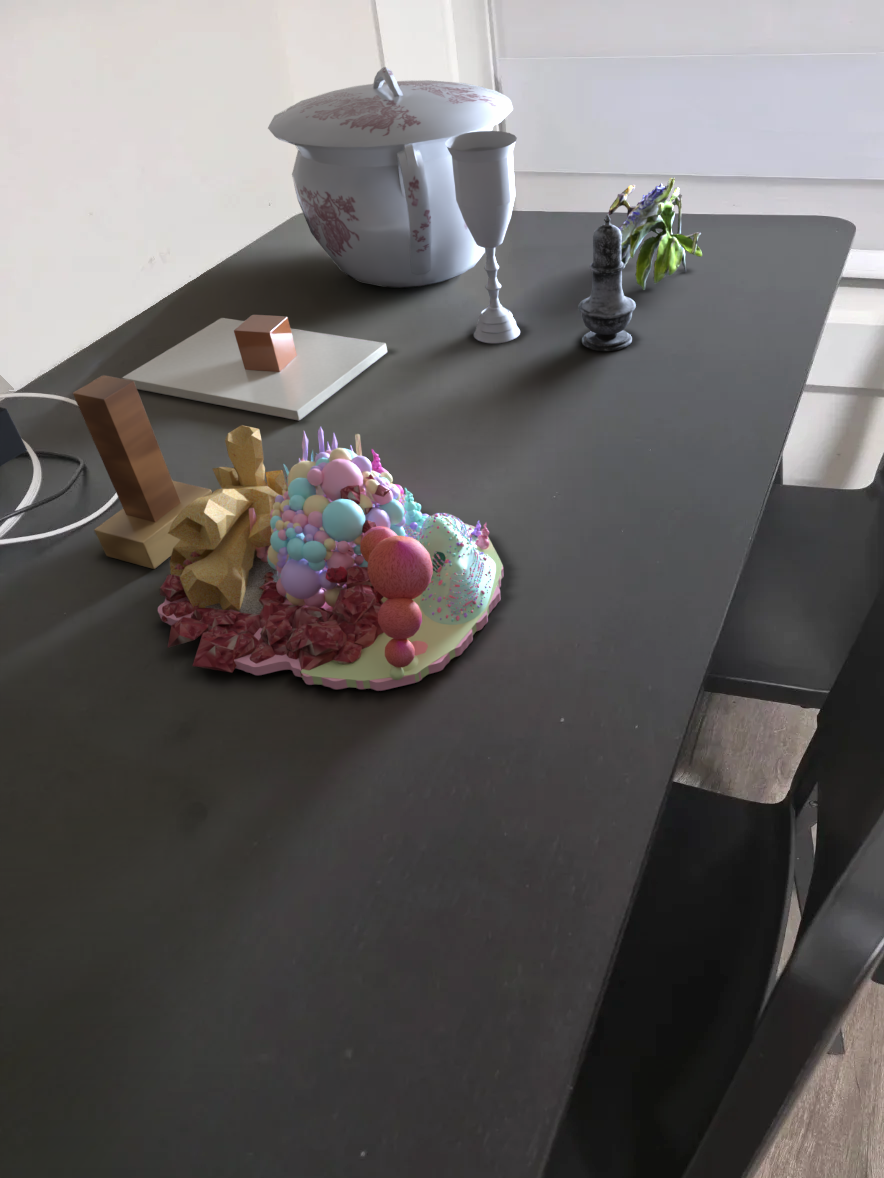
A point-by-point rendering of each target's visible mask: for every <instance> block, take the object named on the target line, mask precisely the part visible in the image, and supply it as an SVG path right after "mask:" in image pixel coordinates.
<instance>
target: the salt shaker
mask: <svg viewBox="0 0 884 1178" xmlns="http://www.w3.org/2000/svg"><path fill="white" fill-rule="evenodd" d="M611 220H612V219H611V218H610V215H609V214H606V216H605V217H604V219H603V221H604V223H603V224H602V225H600V226H598V227H597V228H596V229H595V230H594V232H593V234H592V262H591V263H590V264H589V267H588V268H589V270H590V271H591V272H592V273H591V275H592V276H591V277H592V278H591V279H592V283H591V284H592V287H591V293H590V296H588V297H587V298H584V299H583V300H581V301H580V303H579V304H578V306H577V307H578V311H579V312H580V313H581V319H582V321H583V323H584V325H585V327H586V328H587V329H588V330H589V331H588V332H586V333H585V334H584V335H583V336H582V338H581V343H582V345H583V346H584V347H586V348H588V349H589V350H593V351H597V352H599V351H600V352H611V351H618V350H622V349H624V348H626V347H628V346H629V345H631V343H632V342H633V337H632V336H631V335H632V334H630V333H629V332H627V331H626V330H625V329H626V328H627V327H628V326H629V325H630V323H631V320H632V317H633V312H634V311H635V309H636V307H637V306H636V305H637V304H636V302H635V301H634V300H633V299H632V298H631V297H628V296H625V294H624V291H623V285H622V284H623V270H624V269H625V268H626V265H625V264H624V263H623V262H622V261H621V245H622V235H621V231H620V230H619V228H618V226H616V225H614V224H612V223H611Z"/></svg>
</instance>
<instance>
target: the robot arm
mask: <svg viewBox="0 0 884 1178" xmlns="http://www.w3.org/2000/svg"><path fill="white" fill-rule="evenodd" d="M26 451H28V448H27V447H26V445H25V441H24V440H23V438H22V437H21V434H20V433H19V429H18V428H17V426H16V424H15V423H14V420H13V418H12V417H11V414H10V412H9V410H8V409H7V408H6V407H1V406H0V467H2V466H3V465H5V464H7V463H8V462H10V461H12V460H14V459H15V458H18V456H20V455H22V454H23V453H25V452H26Z"/></svg>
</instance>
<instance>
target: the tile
mask: <svg viewBox="0 0 884 1178" xmlns="http://www.w3.org/2000/svg"><path fill="white" fill-rule="evenodd" d="M244 321H245V320H239V319H232V318H227V317H220V318H218V319H217V320H215V321H214V322H213V323H210V324H209V325H207V326H206V327H204V328H202V329H200V330H199V331H197V332H196V333H194V334H192V335H190V336H189V337H187V338H185V339H184V340H182V341H181V342H179V343H177V344H176V345H174V346H172V347H170V348H169V349H167V350H166V351H164V352H163V353H161V354H158V355H157V356H155V357H154V358H152V359H151V360H148V361H147V362H146V363H144V364H142V365H140V366H139V367H137V368H135V369H133V370H132V371H131V372H129V373H127V374H125V375H124V376H122V377H121V379H125V380H131V381H134V383H135V385H136V388H137V390H140V391H146V392H151V393H156V394H160V395H161V394H162V395H166V396H171V397H177V398H181V399H187V400H192V401H197V402H202V403H206V404H213V405H218V406H223V407H227V408H232V409H238V410H243V411H248V412H253V413H258V414H263V415H269V416H274V417H277V418H278V417H279V418H285V419H289V420H295V421H301V420H303V418H305V417H306V416H308V415H309V414H310V413H311V412H312V411H314V410H315V409H316V408H318V407H319V406H321V404H323V403H324V402H326V401H327V400H328V399H329V398H331V397H332V396H333V395H334V394H336V393H337V392H338V391H340V390H341V389H342V388H344V387H345V386H346V385H347V384H348V383H350V382H351V381H353V379H355V378H356V377H358V376H359V375H360V374H362V372H365V370H366V369H368V368H370V366H372V365H373V364H374V363H376V362H377V361H378V360H380V359H381V358H382V357H383V356H384V355H386V354H387V353H388V348H387V346H388V345H387V343H386V342H381V341H374V340H370V339H369V340H368V339H361V338H354V337H350V336H349V337H348V336H347V337H346V336H342V335H336V334H330V333H323V332H316V331H309V330H303V329H297V328H291V327H290V329H291V333H292V337H293V341H294V345H295V349H296V353H297V356H296V357H295V358H294V359H293V360H292V361H291V362H290V363H289V364H288V365H287V366H286V367H285V368H284V369H283V370H282V371H281V372H271V371H257V370H245V368H244V364H243V361H242V358H241V354H240V351H239V347H238V344H237V340H236V337H235V334H234V330H235V329H236V328H237V327H238V326H240V325H241V324H242V323H243V322H244Z"/></svg>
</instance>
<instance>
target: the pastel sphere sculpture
mask: <svg viewBox="0 0 884 1178" xmlns="http://www.w3.org/2000/svg"><path fill="white" fill-rule="evenodd" d="M324 438H325V437H324V430H323V428H322V426H319V428H318V429H317V440H318V449H319V452H318V453H317V452H315V454H316V455H314V449H312V450H311V453H310V460H308V457H309V438H308V437H307V434H306V431H305V430H303V432H302V440H301V448H302V456H301V457H302V458H300V457H298V462H297V463H295V464H294V465H292V466H291V467H290V470H289V468H288V467H287V466H286V463H283V468H284V470H283V469H277V470H271V471H270V470H269V471H266V467H265V464H264V459H265V458H264V450H263V441H262V436H261V431H260V428H256V427H252V426H247V425H243V424H241V425H239V426H238V427H236V428H234V429H233V430H231V431H229V432H228V433H227V434H226V436H225V439H224V443H225V447H226V451H227V455H228V458H229V460H230V462H231V464H232V466H233V467H229V466H228V467H227V466H218V467H213V468H212V472H213V474H214V476H215V479H216V481H217V482H218V484H219V486H220V488H216V489H215V490H214V491H212V493H211V494H210V495H209V496H205V497H200V498H197V499H196V500H194V501H193V502H192V503H190V504H189V505H188V506H186V507H185V508H183V509H182V510H181V512H180V513H179V514H178V516H177V517H176V518H175V520H174V521H173V523H172V525H171V527H170V530H169V532H168V534H170V535H172V536H174V537H176V538H178V539H180V541H179V542H178V543H177V544H176V545H175V547H174V548H173V551H172V555H171V556H170V560H169V569H170V574H167V575H166V577H165V578H166V579H164V582H163V583H162V585H161V586H160V588H159V596H161V597H163V598H165V599H164V601H163V603H161V604H159V606H158V607H157V613H158V615H159V617H160V618H159V619H160V620H161V621H162V622H163V623H165V624H167V625H169V626H170V632H169V635H168V636H169V637H168V641H167V649H169V648H172V647H175V646H179V645H182V644H185V643H189V642H192V641H195V640H197V639H198V638H200V637H201V638H200V641H199V644H198V647H197V650H196V652H195V653H196V654H195V656H194V658H193V659H194V660H193V663H192V667H196V668H200V669H201V668H202V669H207V670H214V671H221V672H226V673H231V674H233V672H235V671H234V670H235V669H237V670H241V671H243V672H245V673H248V674H249V673H250V674H252V675H254V676H262V675H263V676H264V675H267V674H271V673H275V672H281V671H288V670H290V671H292V674H293V675H294V676H295V677H298V678H302V680H303V683H305V684H306V685H308V686H312V685H321V686H323V687H327V688H330V689H332V690H343V689H347V688H356V689H358V690H366V689H368V690H369V689H371V690H374V691H376V692H379V691H380V692H381V691H386V690H391V689H394V688H398V687H403V686H408V685H412V684H415V683H419V682H420V681H422V680H423V679H424V678H425V677H426V676H428V675H431V674H434V673H435V674H436V673H438V672H441V671H443V670H444V669H445V668H446V666H447V665H448V664H449V663H450V662H451V660H453V659H454V658H456V657H459V656H461V655H462V654H463V653H464V651H465V650H466V649H467V648H468V647H469V646H470V644H471V643H472V642H473V641H474V635H475V633H476V632H478V631H481V630H482V629H483V628H484V626H486V625H487V624H488V622H489V616H490V614H491V613H492V611H493V610H494V609H495V608H496V607H497V605H498V603H500V602H501V598H502V597H501V589H500V588H501V587H502V579H503V578H504V574H505V573H504V564H503V562H502V560H501V558H500V556H499V554H498V553H497V550H496V549H495V547H494V545H493V543H492V541H491V539H490V537H489V535H490V531H489V529H488V528H487V525H488V524H487V521H486V522H484V524H483V528H482V525H481V522H480V520H478V521H477V523H476V524H475V525H471V524H469V523H464V521H462V519H460V518H459V517H457V516H455V515H453V514H450V513H448V512H436V513H434V514H431V515H429V514H428V513H422V511H421V510H422V505H421V504H420V503H419V502H417V501H415V498H414V497H413V496H414V494H413V493H412V492H411V491H409V490H408V489H407V487H406V486H404V489H403V487H402V486H401V485H400V484H397V483H395V484H394V483H393V482H394V479H393V476H392V474H390V473H389V471H388V470H387V469H385V468H384V467H382V463H381V458H380V457H379V453H376V452H375V450H374V448H371V454H372V457H373V458H372V459H373V460H372V461H370V459H369V458H367V457H366V456H364V455H363V452H362V450H363V448H362V441H361V434H359V433H355V434H354V440H355V451H354V449H353V447H352V445H350V448H349V449H348V448H345V447H339V446H338V444H339V442H338V440H337V437H336V434H335V432H333V433H332V440H331V446H330V444H329V441H326V449H325V439H324ZM314 456H315V457H314ZM284 472H285V473H286V476H285V474H284Z"/></svg>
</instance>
